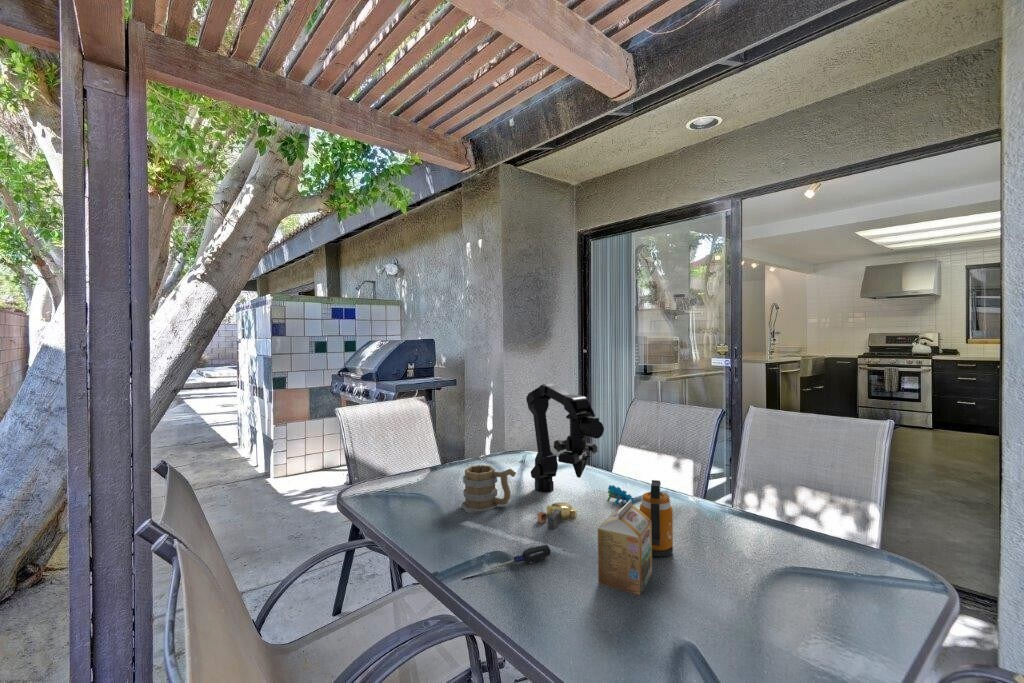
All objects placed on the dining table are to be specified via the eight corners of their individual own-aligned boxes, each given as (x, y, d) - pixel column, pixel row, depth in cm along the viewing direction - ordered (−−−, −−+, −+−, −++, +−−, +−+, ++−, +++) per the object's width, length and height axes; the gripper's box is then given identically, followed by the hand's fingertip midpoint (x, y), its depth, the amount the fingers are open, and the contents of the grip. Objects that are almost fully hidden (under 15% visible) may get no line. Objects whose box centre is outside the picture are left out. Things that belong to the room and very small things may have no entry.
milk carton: (639, 595, 113) (639, 517, 112) (598, 583, 118) (597, 509, 118) (652, 575, 122) (651, 502, 121) (612, 564, 127) (612, 495, 127)
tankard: (456, 511, 166) (455, 469, 166) (472, 499, 178) (472, 459, 177) (508, 519, 159) (507, 475, 158) (522, 505, 170) (521, 464, 170)
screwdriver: (463, 583, 120) (462, 568, 120) (459, 576, 123) (458, 562, 123) (552, 560, 130) (552, 547, 130) (546, 554, 134) (546, 541, 134)
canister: (672, 545, 137) (672, 478, 137) (672, 564, 127) (672, 491, 126) (641, 541, 140) (640, 475, 140) (638, 559, 130) (637, 488, 129)
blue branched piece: (640, 502, 167) (623, 485, 164) (632, 516, 165) (615, 500, 162) (619, 496, 177) (602, 481, 174) (611, 510, 174) (595, 494, 171)
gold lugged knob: (552, 507, 165) (551, 498, 164) (579, 511, 161) (579, 502, 161) (536, 526, 149) (535, 516, 149) (566, 531, 145) (566, 521, 145)
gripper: (570, 425, 176) (570, 466, 176) (544, 435, 160) (545, 480, 161) (597, 428, 169) (598, 471, 170) (573, 439, 154) (574, 486, 154)
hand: (578, 477), depth 164 cm, fingers closed
